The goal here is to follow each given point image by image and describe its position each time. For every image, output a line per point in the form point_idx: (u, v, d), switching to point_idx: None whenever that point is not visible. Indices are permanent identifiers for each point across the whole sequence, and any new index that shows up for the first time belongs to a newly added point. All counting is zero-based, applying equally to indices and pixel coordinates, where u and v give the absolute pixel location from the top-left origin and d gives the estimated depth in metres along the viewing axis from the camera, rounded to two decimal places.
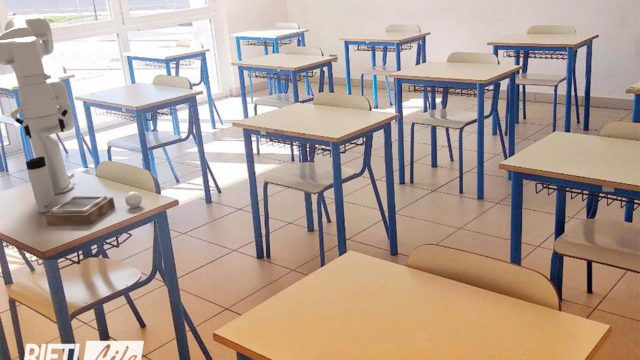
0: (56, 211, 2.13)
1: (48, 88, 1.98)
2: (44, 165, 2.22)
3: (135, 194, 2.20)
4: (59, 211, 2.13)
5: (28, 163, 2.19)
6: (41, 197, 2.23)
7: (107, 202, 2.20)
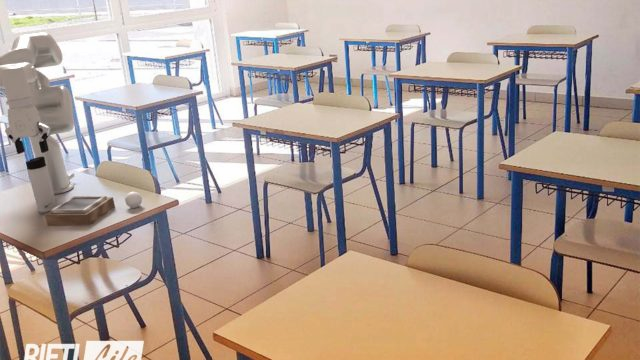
0: (56, 211, 2.13)
1: None
2: (44, 165, 2.22)
3: (135, 194, 2.20)
4: (59, 211, 2.13)
5: (28, 163, 2.19)
6: (41, 197, 2.23)
7: (107, 202, 2.20)
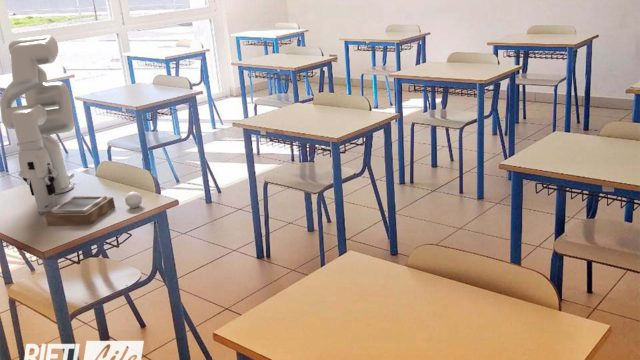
0: (56, 211, 2.13)
1: None
2: None
3: (135, 194, 2.20)
4: (59, 211, 2.13)
5: (28, 163, 2.19)
6: (41, 197, 2.23)
7: (107, 202, 2.20)
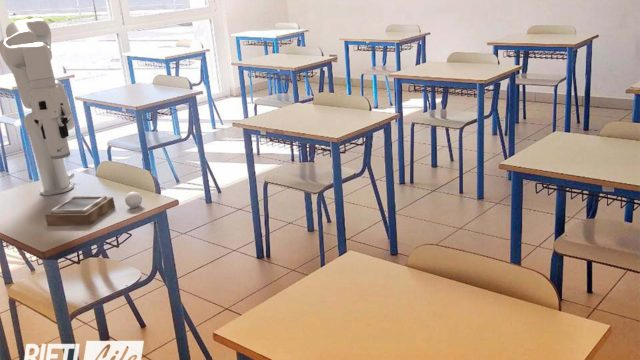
0: (56, 211, 2.13)
1: None
2: None
3: (135, 194, 2.20)
4: (59, 211, 2.13)
5: (40, 102, 2.05)
6: (54, 140, 2.09)
7: (107, 202, 2.20)
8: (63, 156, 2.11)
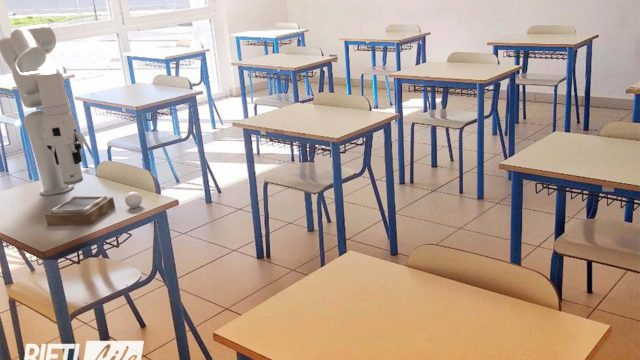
0: (56, 211, 2.13)
1: None
2: None
3: (135, 194, 2.20)
4: (59, 211, 2.13)
5: (54, 129, 2.06)
6: (67, 166, 2.10)
7: (107, 202, 2.20)
8: (76, 181, 2.13)
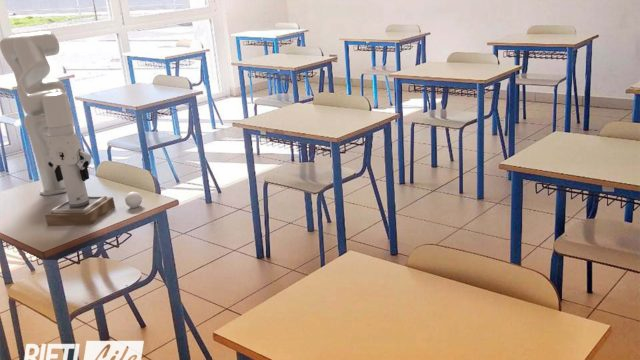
0: (56, 211, 2.13)
1: None
2: None
3: (135, 194, 2.20)
4: (59, 211, 2.13)
5: None
6: (73, 189, 2.13)
7: (107, 202, 2.20)
8: (82, 204, 2.15)
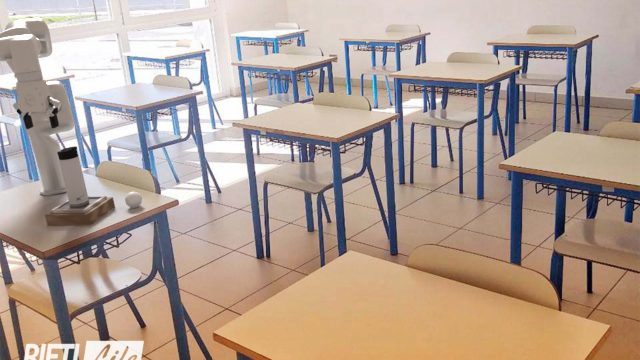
0: (56, 211, 2.13)
1: None
2: (76, 155, 2.12)
3: (135, 194, 2.20)
4: (59, 211, 2.13)
5: (60, 153, 2.09)
6: (73, 189, 2.13)
7: (107, 202, 2.20)
8: (82, 204, 2.15)
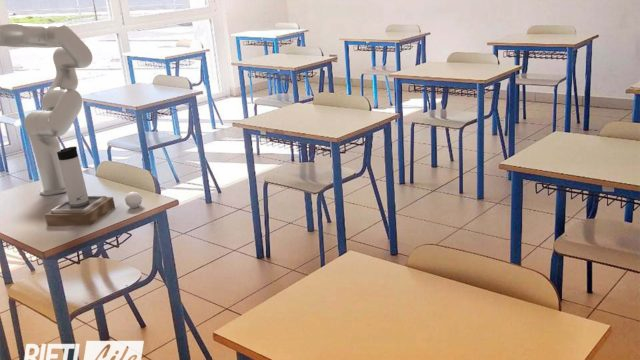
0: (56, 211, 2.13)
1: None
2: (76, 155, 2.12)
3: (135, 194, 2.20)
4: (59, 211, 2.13)
5: (60, 153, 2.09)
6: (73, 189, 2.13)
7: (107, 202, 2.20)
8: (82, 204, 2.15)
